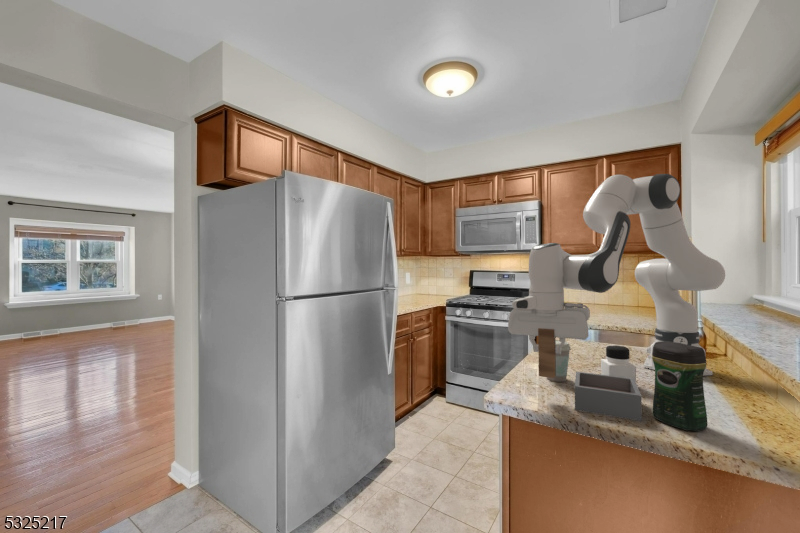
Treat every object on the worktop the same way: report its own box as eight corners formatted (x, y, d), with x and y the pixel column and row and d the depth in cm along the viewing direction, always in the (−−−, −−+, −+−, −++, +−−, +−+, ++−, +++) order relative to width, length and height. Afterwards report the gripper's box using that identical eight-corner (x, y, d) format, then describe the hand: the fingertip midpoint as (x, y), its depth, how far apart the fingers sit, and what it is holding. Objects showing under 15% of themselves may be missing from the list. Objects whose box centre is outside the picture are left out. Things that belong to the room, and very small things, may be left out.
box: (576, 392, 100) (576, 371, 100) (634, 400, 93) (634, 378, 93) (574, 409, 88) (574, 386, 88) (641, 421, 81) (641, 395, 81)
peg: (540, 371, 97) (539, 326, 97) (556, 373, 96) (555, 327, 95) (538, 376, 94) (538, 328, 94) (554, 378, 92) (554, 329, 92)
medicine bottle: (636, 390, 101) (636, 349, 101) (609, 388, 103) (609, 348, 103) (625, 382, 108) (625, 344, 108) (600, 381, 110) (600, 343, 110)
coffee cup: (543, 381, 109) (542, 344, 109) (541, 373, 117) (541, 338, 117) (572, 384, 106) (572, 345, 106) (569, 376, 114) (568, 340, 114)
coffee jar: (714, 429, 77) (714, 346, 77) (690, 435, 74) (689, 349, 74) (668, 412, 86) (668, 337, 86) (645, 416, 84) (645, 340, 84)
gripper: (589, 302, 92) (590, 353, 93) (510, 299, 102) (511, 346, 102) (589, 305, 87) (590, 359, 87) (506, 302, 97) (507, 351, 97)
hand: (547, 352), depth 95 cm, fingers closed on peg, 4 cm apart
